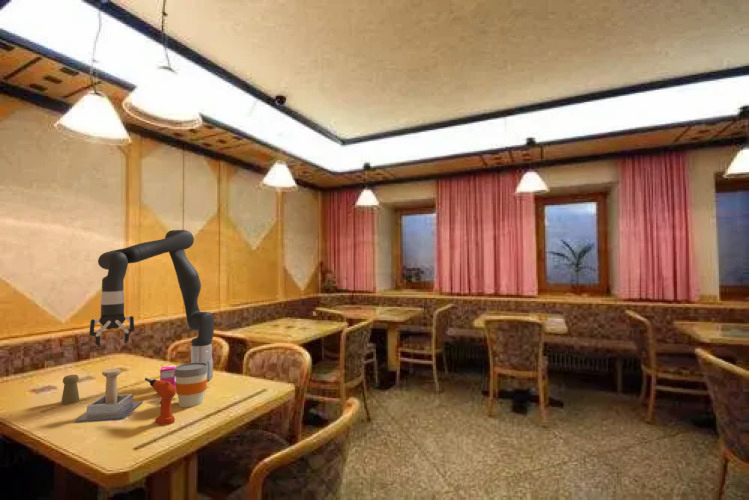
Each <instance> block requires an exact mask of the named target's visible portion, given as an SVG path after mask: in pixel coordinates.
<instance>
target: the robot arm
mask: <svg viewBox="0 0 749 500" xmlns="http://www.w3.org/2000/svg"><path fill="white" fill-rule="evenodd" d="M194 238H195V237H194V235H193V233H192V231H191V232H190V231H189V230H186V229H173V230H169V231H167V232H166V233H165V236H164V238H162V239H156V240H151V241H145V242H141V243H137V244H134V245H130V246H128V247H125V248H118V249H115V250H114V249H113V250H111V251H106V252H104V253H102V254H101V255H100V256H99V257H98V259H97V265H98V266H99V267H100V268H102V269H104V270H107V275H106V276H104V277H102V280H101V294H100V295H101V296H100V318H99V319H97V318H96V319H94V318H91V319H90V320H89V321H90V323H89V335H90V336H93V337H94V338H95V340H94V343H95V346H97V347H101V335H102V333H103V332H104V331H105V330H112V329H113V330H114V329H116V330H117V329H119V328H120V329H121V330H122V331H123V332H124V333H123V343H124V344H127V342H129V341H130V337H129V334H130V333H131V332H134V331H135V321H134V320H135V318H134V316H133V315H130V316H125V293H124V290H125V288H124V285H125V282H124V280H125V277H126V274H127V270H128V265H129V264H135V263H138V262H141V261H145V260H148V259H151V258H153V257H157V256H159V255H164V254H167V253H168V254H169V256H170V259H171V261H172V265H173V267H174V271H175V274H176V279H177V282H178V286H179V289H180V292H181V296H182V300H183V305H184V310H185V316H186V322H187V325H188V328H189V329H190V330H192V331H198V336H197V337H194V338H192V339H191V340H190V341H191V343H190V344H191V345H190V347H191V351H190V352H191V354H190V355H191V357H190V358H191V359H190V363H195V362H203V363H207V365H208V372H207V382H208V381H211V380H212V378H213V377H214V358H213V357H212V356H213V351H212V349H213V348H212V347H213V344H212V343H213V338H214V331H215V317H214V314H213V313H211V312H208V311H201V310H200V308H199V307H200V306H199V303H198V301H199V297H200V293H201V288H202V284H201V279H200V276H199V273H198V271H197V269H196V268H195V267H194V266H193V264H192V263H191V262H190V260H189V259H188V256H187V255H186V251H185V250H187V249H189V248H191V247H192V246H193V244H194V240H195V239H194ZM125 321H127V322H128V323H129V328H127V327H126V326H125V325H123V324H124V322H125ZM98 323H99V324H101V327H100V328H98V330H97V331H95V326H97V325H98Z"/></svg>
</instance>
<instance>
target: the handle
mask: <svg viewBox="0 0 749 500" xmlns="http://www.w3.org/2000/svg"><path fill="white" fill-rule="evenodd" d="M120 374H122V369H120V368H110V369H105V370H102V371H101V375H102V376H103V377H105V378H106V380H105V381H106V382H105V393H104V396H105V404H110V403H117V395H118V384H117V383H118V381H117V380H118V378H117V377H118V376H119V375H120Z"/></svg>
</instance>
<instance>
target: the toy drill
mask: <svg viewBox="0 0 749 500" xmlns="http://www.w3.org/2000/svg"><path fill="white" fill-rule="evenodd" d="M144 380H145V381H146V382H148V383H149V385H150V387H152V388H153V390H154V391H155V392H156V393H157V395H158V396H159V397H160V398H161V400H160V402H159V404H160V408H159V409H160V413H159V415H158V416H156V417H155V419H154V422H155V424H157V425H161V426H169V425H172V424H174V423H175V422H176V418H175V416H174V415H173V413H172V399H173V398H174V397H175V396H176V395H177V393H176V388H175V387H174V386H173V385H172V384H171V383H170V382H165V381H163V380H160V379H151V378H148V377H144Z"/></svg>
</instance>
